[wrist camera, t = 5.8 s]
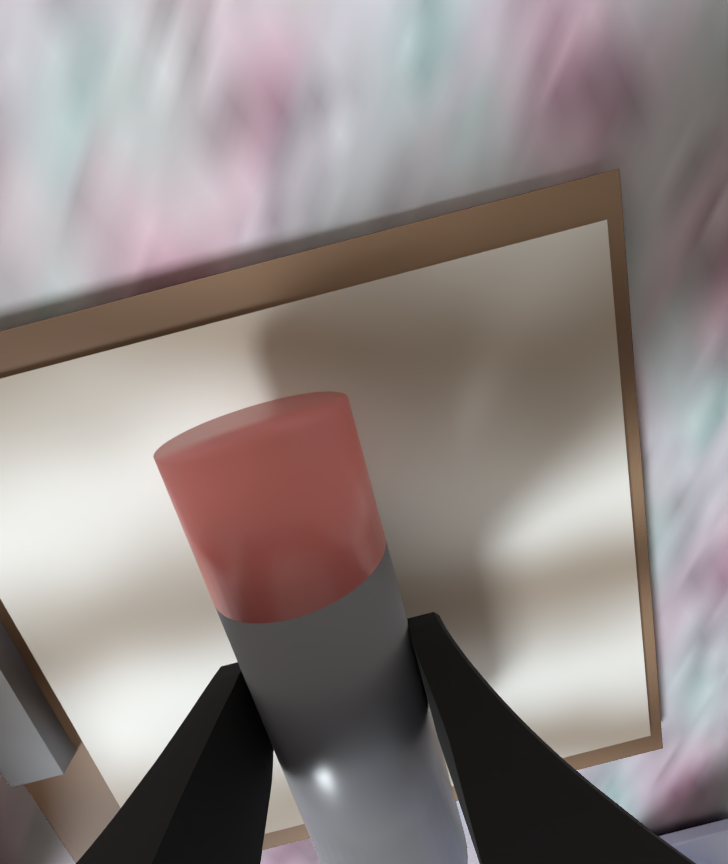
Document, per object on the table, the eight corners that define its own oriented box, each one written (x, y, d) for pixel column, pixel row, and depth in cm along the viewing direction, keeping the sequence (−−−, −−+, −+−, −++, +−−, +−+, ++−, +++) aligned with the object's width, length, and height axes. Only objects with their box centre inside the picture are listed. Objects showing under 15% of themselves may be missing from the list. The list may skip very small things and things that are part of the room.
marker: (425, 779, 14) (505, 903, 11) (322, 854, 13) (378, 1019, 10) (311, 385, 11) (382, 402, 7) (152, 438, 9) (154, 485, 6)
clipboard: (650, 732, 16) (677, 768, 15) (103, 871, 16) (83, 919, 15) (604, 175, 11) (639, 159, 10) (-202, 386, 11) (-269, 397, 10)
